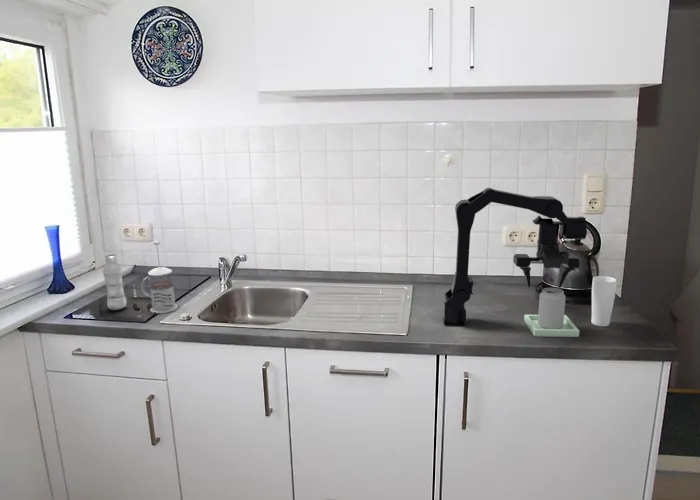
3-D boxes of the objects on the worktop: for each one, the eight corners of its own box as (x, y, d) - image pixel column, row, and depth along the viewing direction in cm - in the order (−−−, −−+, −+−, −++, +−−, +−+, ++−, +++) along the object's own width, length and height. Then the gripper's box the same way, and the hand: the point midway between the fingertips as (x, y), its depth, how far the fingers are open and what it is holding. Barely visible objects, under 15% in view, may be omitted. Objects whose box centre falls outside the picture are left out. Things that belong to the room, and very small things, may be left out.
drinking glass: (583, 322, 167) (587, 277, 163) (599, 318, 169) (604, 274, 165) (600, 329, 160) (605, 283, 157) (617, 326, 163) (622, 280, 159)
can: (532, 324, 164) (534, 288, 161) (551, 320, 167) (553, 285, 164) (549, 332, 157) (552, 295, 155) (568, 328, 160) (571, 291, 157)
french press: (177, 311, 184) (169, 243, 178) (142, 315, 181) (133, 245, 175) (179, 302, 193) (172, 237, 187) (146, 305, 191) (138, 239, 185)
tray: (534, 336, 157) (534, 330, 156) (524, 320, 169) (524, 314, 169) (578, 337, 155) (579, 330, 155) (565, 320, 168) (565, 315, 168)
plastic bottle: (128, 304, 192) (121, 252, 187) (126, 311, 186) (119, 256, 181) (109, 307, 190) (101, 254, 185) (106, 313, 184) (99, 258, 179)
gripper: (522, 244, 151) (518, 295, 155) (589, 245, 149) (583, 296, 153) (514, 235, 162) (511, 283, 166) (576, 236, 160) (571, 285, 164)
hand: (543, 287), depth 162 cm, fingers open, 9 cm apart
